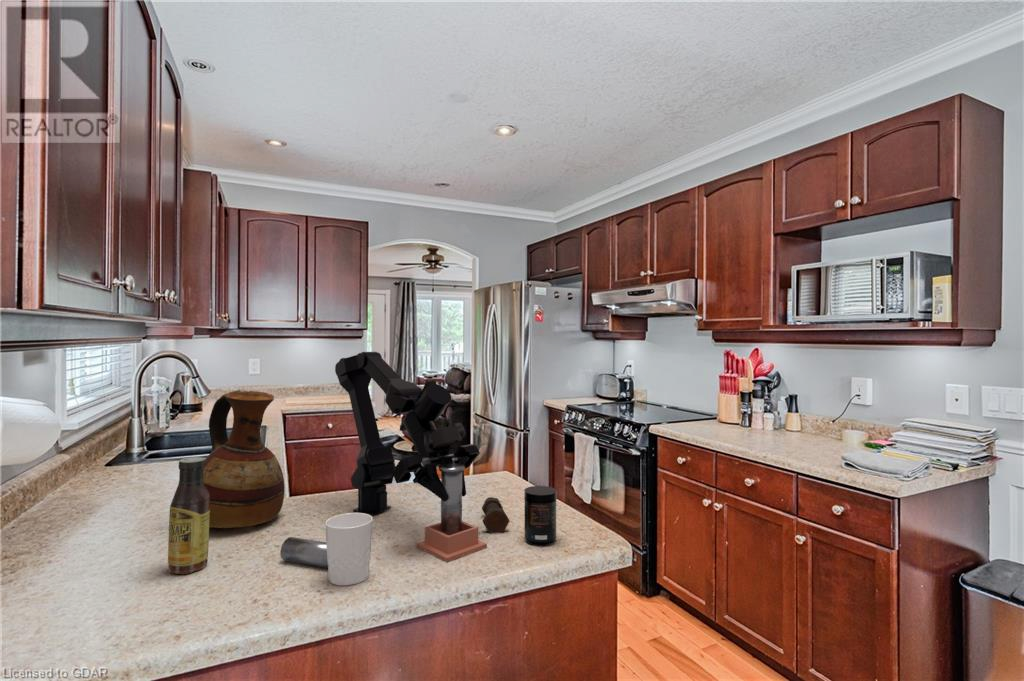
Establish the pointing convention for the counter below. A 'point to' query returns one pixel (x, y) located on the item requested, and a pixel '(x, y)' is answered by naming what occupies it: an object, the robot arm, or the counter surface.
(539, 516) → the supplement container
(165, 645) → the counter surface
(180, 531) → the sauce bottle
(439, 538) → the square planter with saucer
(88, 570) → the counter surface
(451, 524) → the steel pin
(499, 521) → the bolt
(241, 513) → the ceramic pitcher
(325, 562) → the pin
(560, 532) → the counter surface
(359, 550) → the white cup
